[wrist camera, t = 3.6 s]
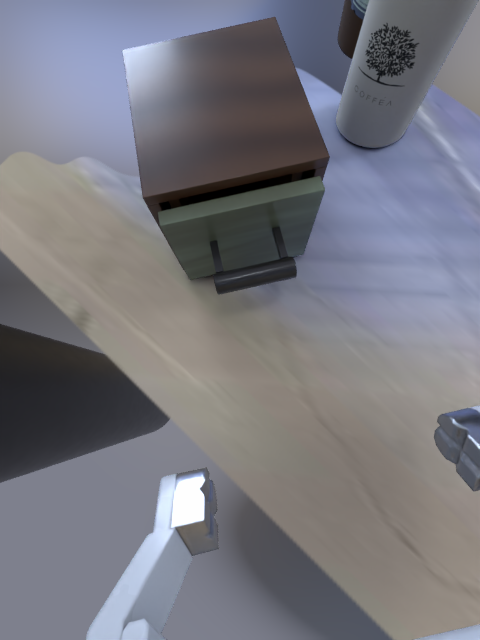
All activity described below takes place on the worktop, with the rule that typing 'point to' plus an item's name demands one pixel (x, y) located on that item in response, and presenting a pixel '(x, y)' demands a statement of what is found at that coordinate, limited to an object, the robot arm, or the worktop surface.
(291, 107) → the storage box
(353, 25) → the olive oil
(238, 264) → the drawer
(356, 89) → the travel mug
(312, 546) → the worktop surface
